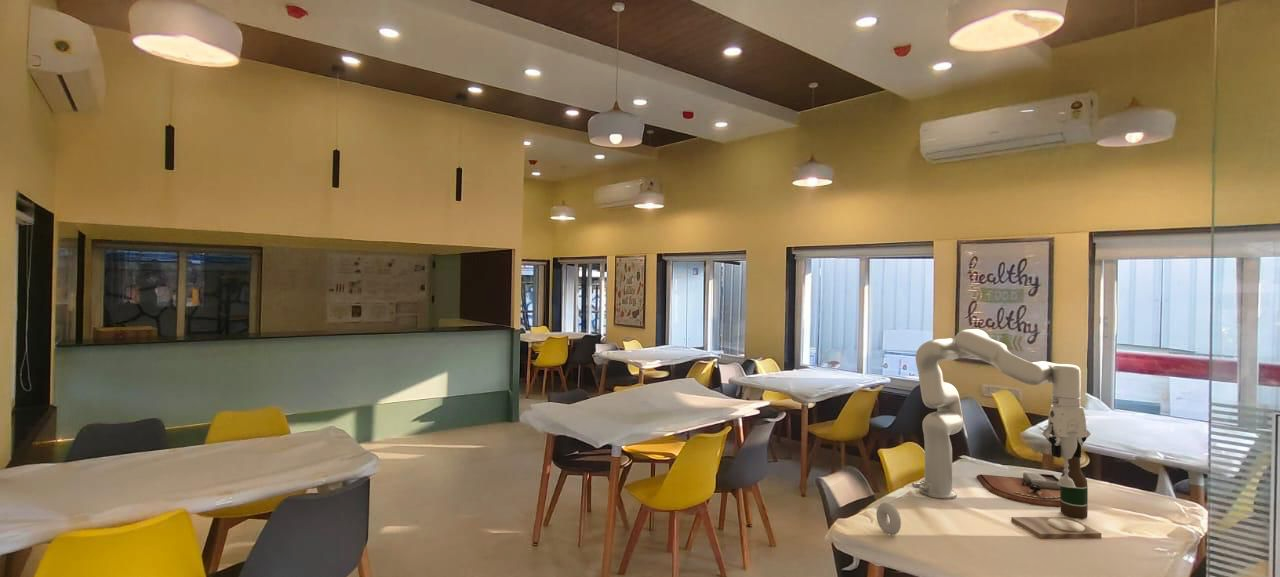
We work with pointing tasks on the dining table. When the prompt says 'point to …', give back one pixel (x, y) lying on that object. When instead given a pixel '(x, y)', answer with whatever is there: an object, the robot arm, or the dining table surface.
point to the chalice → (1067, 452)
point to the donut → (893, 515)
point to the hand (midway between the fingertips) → (1066, 456)
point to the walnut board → (1055, 527)
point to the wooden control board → (1025, 488)
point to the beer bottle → (1074, 492)
